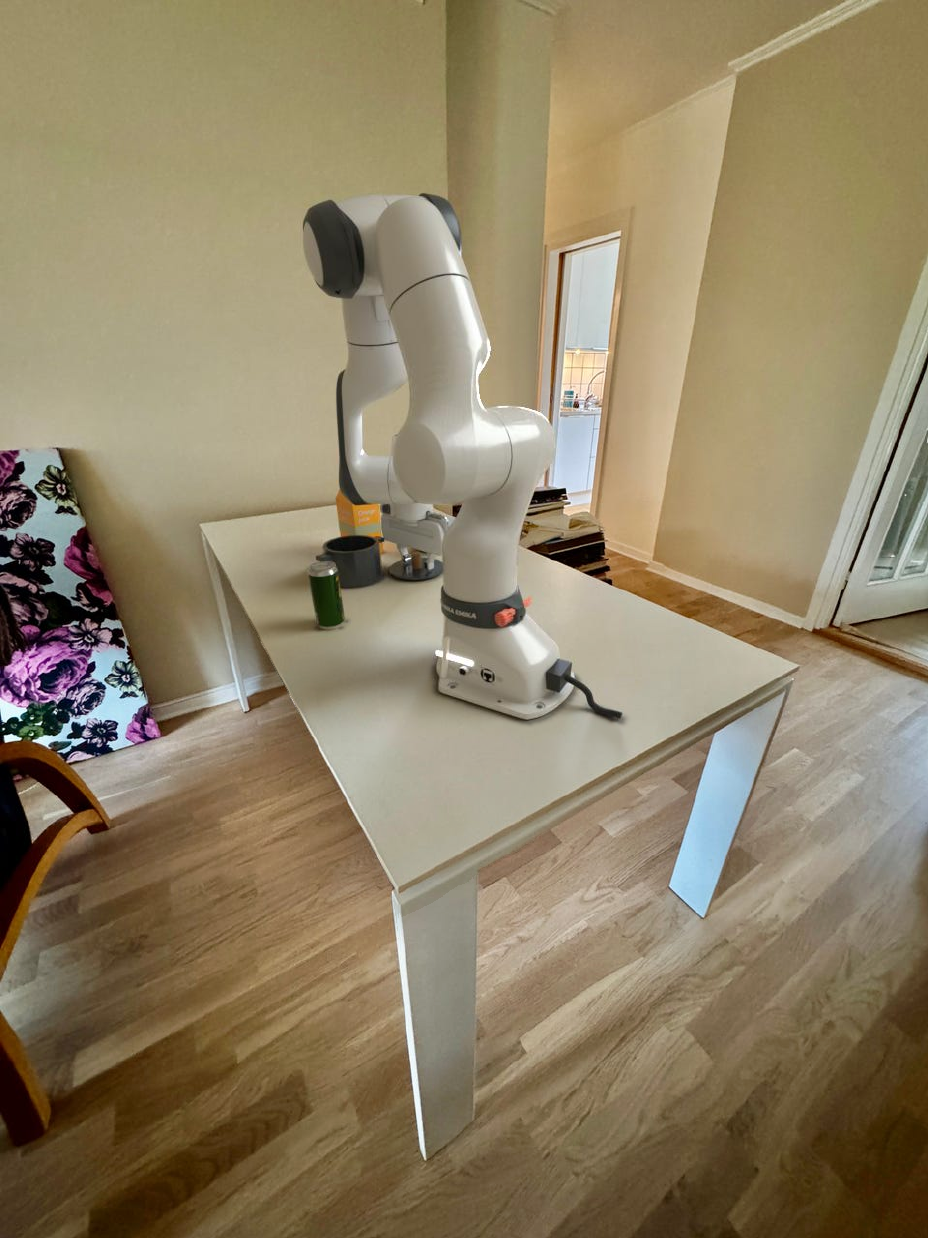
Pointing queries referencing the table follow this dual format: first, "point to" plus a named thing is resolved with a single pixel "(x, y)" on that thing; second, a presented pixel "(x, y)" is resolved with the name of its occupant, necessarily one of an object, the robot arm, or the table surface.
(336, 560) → the pot
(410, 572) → the pot lid
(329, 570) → the beer can
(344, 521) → the orange juice
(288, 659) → the table surface
